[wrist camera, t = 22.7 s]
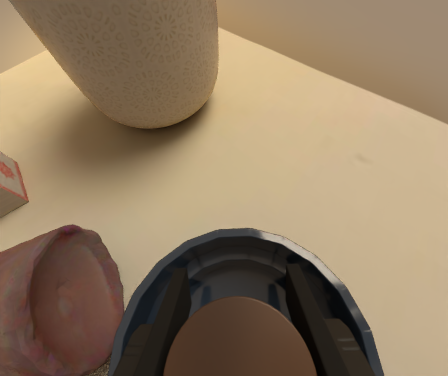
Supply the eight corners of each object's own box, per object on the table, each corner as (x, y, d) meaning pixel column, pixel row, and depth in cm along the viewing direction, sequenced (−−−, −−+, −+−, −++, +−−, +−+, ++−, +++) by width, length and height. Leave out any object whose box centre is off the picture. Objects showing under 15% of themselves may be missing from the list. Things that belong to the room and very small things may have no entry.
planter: (125, 171, 26) (-2, 21, 12) (88, 91, 33) (-15, -56, 20) (249, 109, 29) (254, -63, 16) (190, 49, 36) (159, -102, 23)
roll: (273, 301, 18) (303, 293, 9) (284, 393, 15) (340, 507, 6) (204, 303, 18) (168, 297, 9) (203, 393, 15) (151, 503, 7)
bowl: (315, 246, 20) (341, 223, 15) (368, 485, 13) (449, 599, 8) (160, 252, 21) (132, 233, 16) (134, 482, 14) (69, 584, 9)
